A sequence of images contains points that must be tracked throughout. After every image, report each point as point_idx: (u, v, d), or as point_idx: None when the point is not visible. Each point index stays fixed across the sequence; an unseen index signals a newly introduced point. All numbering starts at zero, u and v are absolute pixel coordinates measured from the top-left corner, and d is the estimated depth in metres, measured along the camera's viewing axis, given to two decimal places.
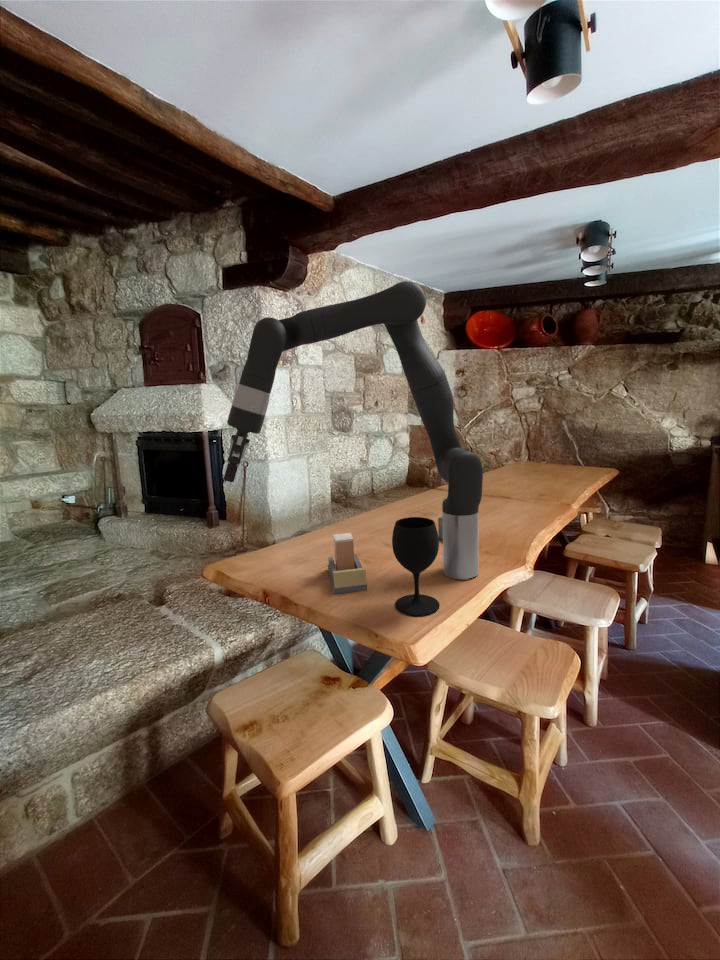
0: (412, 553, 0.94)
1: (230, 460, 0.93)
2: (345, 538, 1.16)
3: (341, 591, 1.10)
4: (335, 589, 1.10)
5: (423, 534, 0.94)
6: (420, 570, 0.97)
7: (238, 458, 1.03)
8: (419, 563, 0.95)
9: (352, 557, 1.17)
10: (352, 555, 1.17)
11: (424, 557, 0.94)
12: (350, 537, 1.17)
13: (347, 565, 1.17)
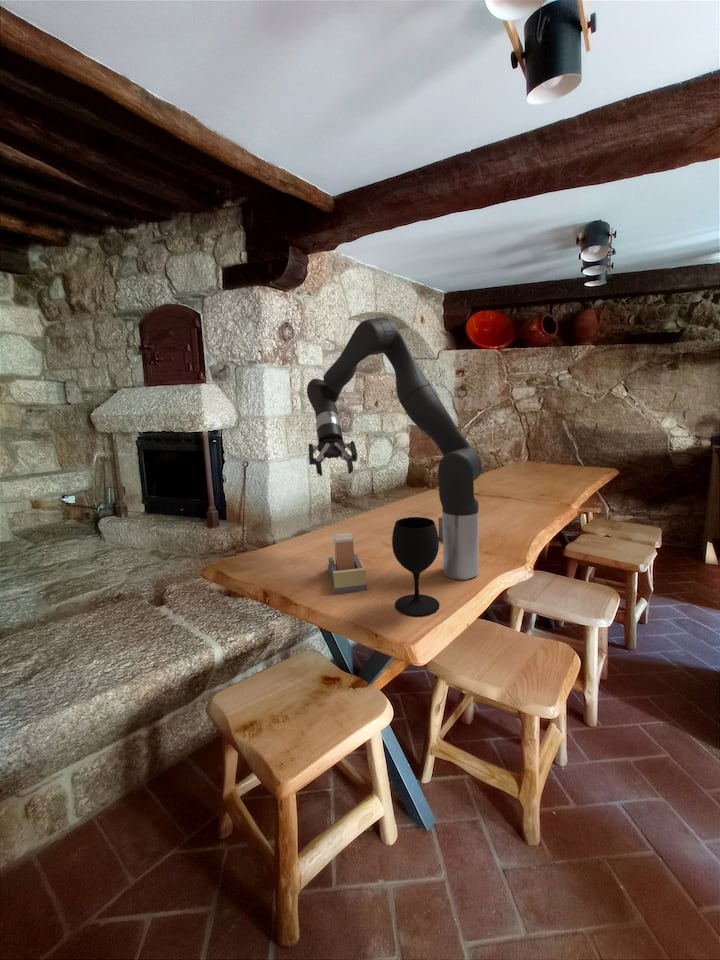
0: (412, 553, 0.94)
1: (310, 463, 1.28)
2: (345, 538, 1.16)
3: (341, 591, 1.10)
4: (335, 589, 1.10)
5: (423, 534, 0.94)
6: (420, 570, 0.97)
7: (347, 458, 1.28)
8: (419, 563, 0.95)
9: (352, 557, 1.17)
10: (352, 555, 1.17)
11: (424, 557, 0.94)
12: (350, 537, 1.17)
13: (347, 565, 1.17)
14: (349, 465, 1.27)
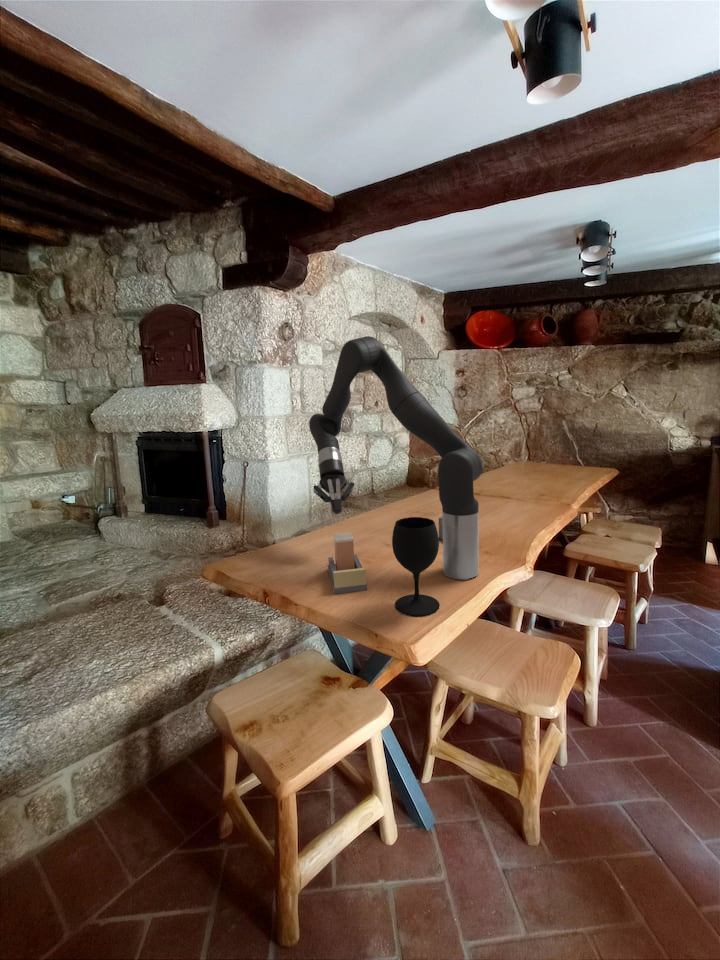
0: (412, 553, 0.94)
1: (325, 501, 1.31)
2: (345, 538, 1.16)
3: (341, 591, 1.10)
4: (335, 589, 1.10)
5: (423, 534, 0.94)
6: (420, 570, 0.97)
7: (336, 498, 1.30)
8: (419, 563, 0.95)
9: (352, 557, 1.17)
10: (352, 555, 1.17)
11: (424, 557, 0.94)
12: (350, 537, 1.17)
13: (347, 565, 1.17)
14: (338, 506, 1.28)
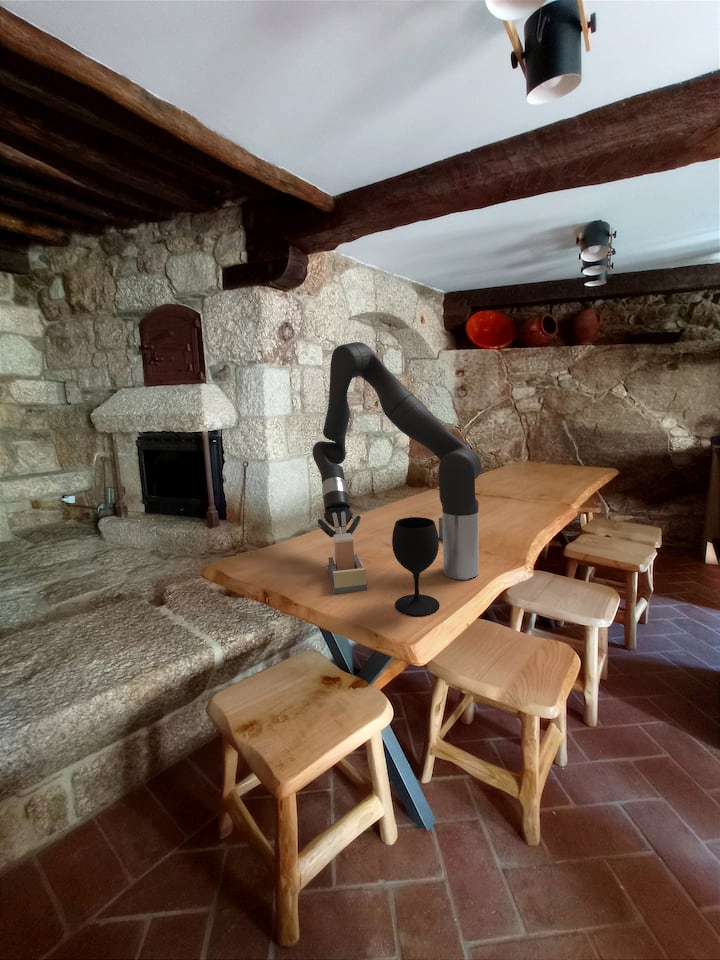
0: (412, 553, 0.94)
1: (330, 535, 1.24)
2: (345, 538, 1.16)
3: (341, 591, 1.10)
4: (335, 589, 1.10)
5: (423, 534, 0.94)
6: (420, 570, 0.97)
7: (342, 533, 1.23)
8: (419, 563, 0.95)
9: (352, 557, 1.17)
10: (352, 555, 1.17)
11: (424, 557, 0.94)
12: (350, 537, 1.17)
13: (347, 565, 1.17)
14: None
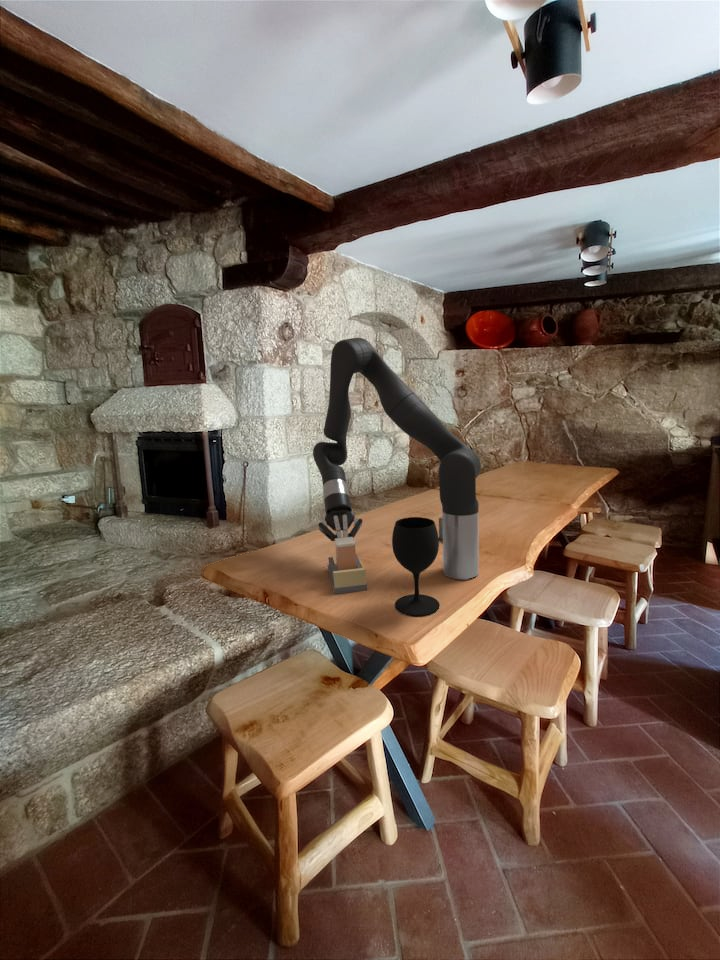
0: (412, 553, 0.94)
1: (331, 539, 1.21)
2: (346, 542, 1.13)
3: (341, 591, 1.10)
4: (335, 589, 1.10)
5: (423, 534, 0.94)
6: (420, 570, 0.97)
7: (343, 537, 1.20)
8: (419, 563, 0.95)
9: (354, 562, 1.13)
10: (354, 560, 1.13)
11: (424, 557, 0.94)
12: (352, 541, 1.14)
13: None
14: None
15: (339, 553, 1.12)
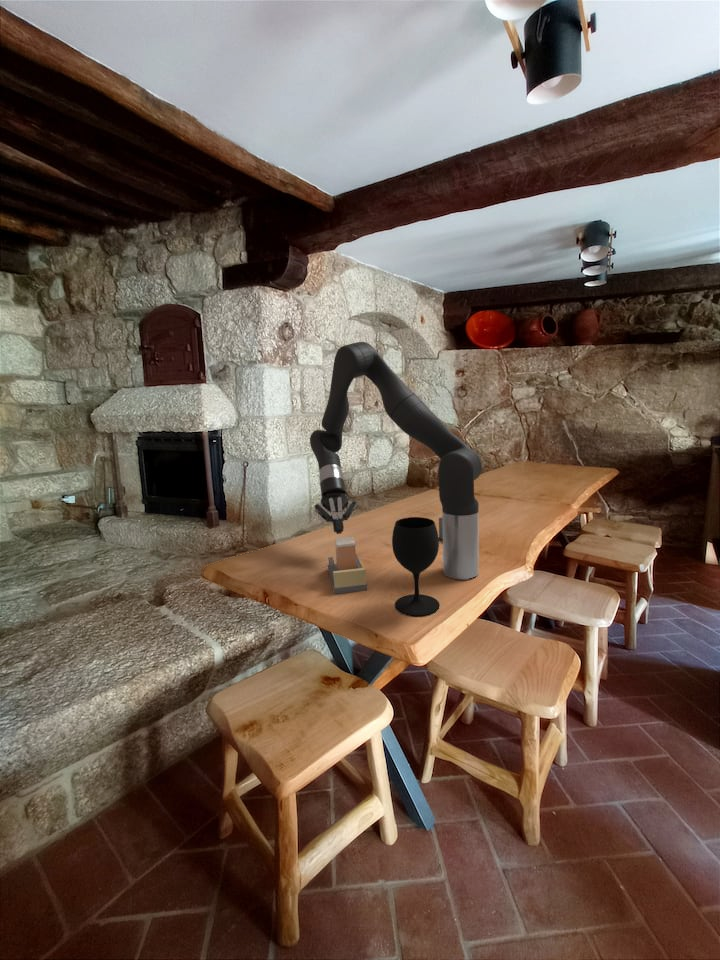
0: (412, 553, 0.94)
1: (327, 520, 1.29)
2: (346, 542, 1.13)
3: (341, 591, 1.10)
4: (335, 589, 1.10)
5: (423, 534, 0.94)
6: (420, 570, 0.97)
7: (338, 518, 1.28)
8: (419, 563, 0.95)
9: (354, 562, 1.13)
10: (354, 560, 1.13)
11: (424, 557, 0.94)
12: (352, 541, 1.14)
13: None
14: (339, 525, 1.26)
15: (339, 553, 1.12)
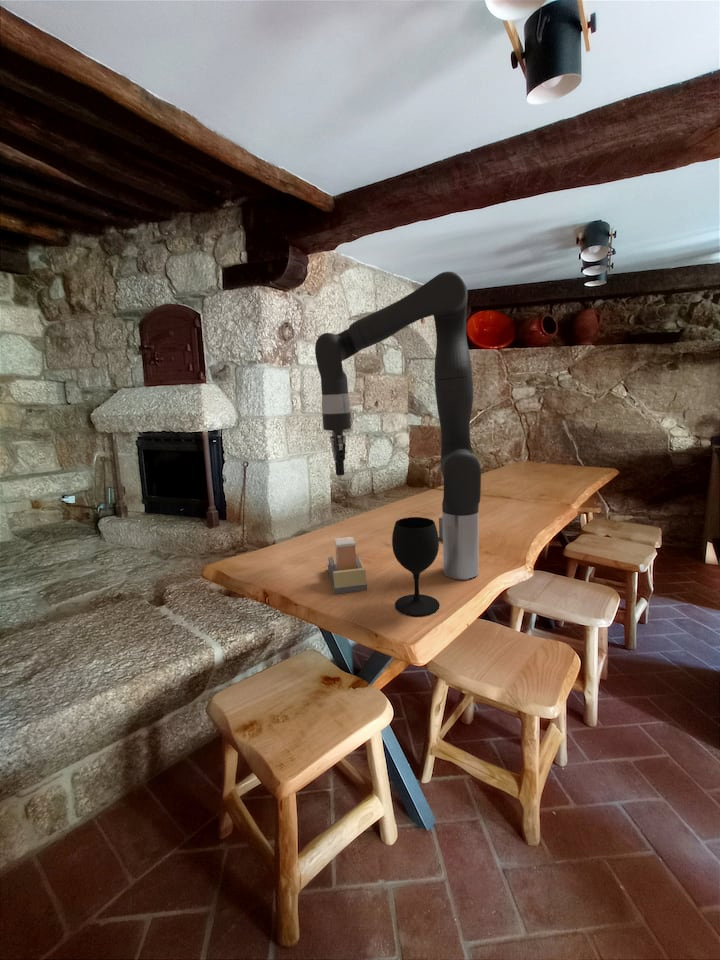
0: (412, 553, 0.94)
1: (337, 459, 1.18)
2: (346, 542, 1.13)
3: (341, 591, 1.10)
4: (335, 589, 1.10)
5: (423, 534, 0.94)
6: (420, 570, 0.97)
7: None
8: (419, 563, 0.95)
9: (354, 562, 1.13)
10: (354, 560, 1.13)
11: (424, 557, 0.94)
12: (352, 541, 1.14)
13: None
14: None
15: (339, 553, 1.12)
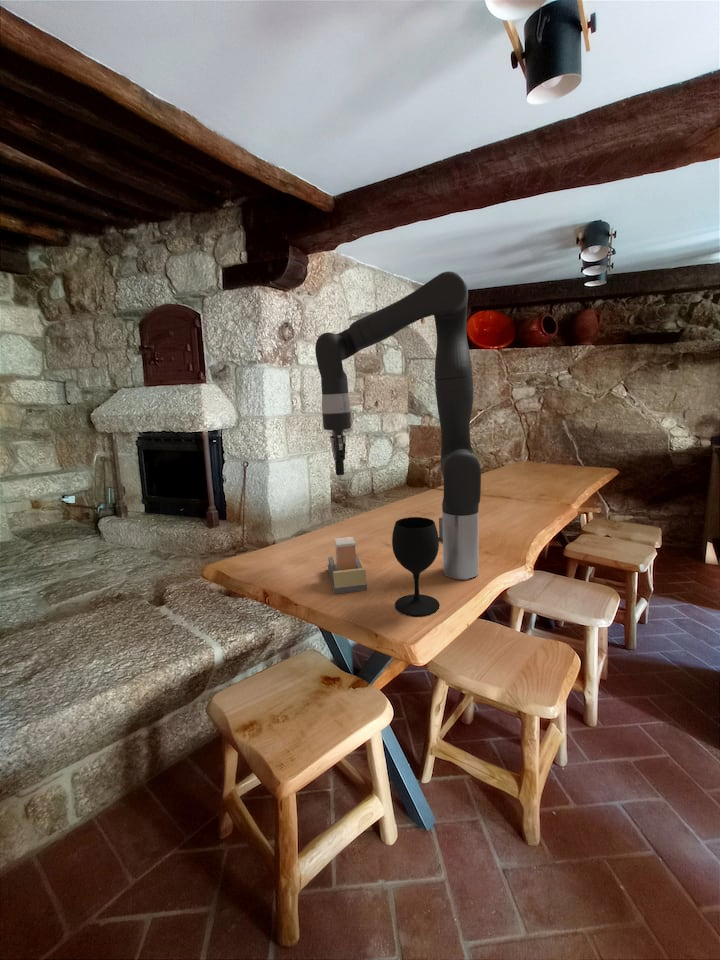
0: (412, 553, 0.94)
1: (337, 459, 1.17)
2: (346, 542, 1.13)
3: (341, 591, 1.10)
4: (335, 589, 1.10)
5: (423, 534, 0.94)
6: (420, 570, 0.97)
7: None
8: (419, 563, 0.95)
9: (354, 562, 1.13)
10: (354, 560, 1.13)
11: (424, 557, 0.94)
12: (352, 541, 1.14)
13: None
14: None
15: (339, 553, 1.12)
